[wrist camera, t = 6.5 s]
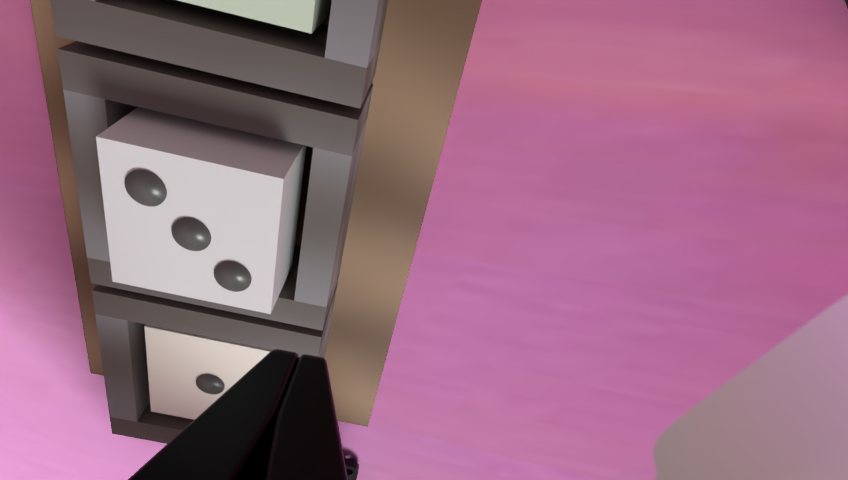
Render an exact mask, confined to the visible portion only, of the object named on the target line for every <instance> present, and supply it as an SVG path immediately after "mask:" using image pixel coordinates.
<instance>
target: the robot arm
mask: <svg viewBox="0 0 848 480" xmlns="http://www.w3.org/2000/svg"><path fill="white" fill-rule="evenodd" d="M358 469H359V464H358V463H357V462H356V461H354V460H351V459H346V458H344V455H343V450H342V444H341V439H340V433H339V427H338V422H337V416H336V411H335V405H334V399H333V394H332V388H331V383H330V377H329V371H328V366H327V361H326V359H325V358H323V357H318V356H313V355H307V354H302V355H301V356H300V357H299V355H298V354H297V353H296V352H291V351H286V350H280V349H274V350H272V351H271V352H269V353H268V354H267V355H266V356H265V357H264V358H263V359H262V360H260V361H259V362H258V363H257V364H256V365H255V366H254V367H253V368H252V369H250V370H249V371H248V372H247V373H246V374H245V375H244V376H243V377H242V378H240V379H239V380H238V381H237V382H236V383H235V384H234V385H233V386H232V387H230V388H229V389H228V390H227V391H226V392H225V393H224V394H223V395H222V396H220V397H219V398H218V399H217V400H216V401H215V402H214V403H213V404H212V405H210V406H209V407H208V408H207V409H206V410H205V411H204V412H203V413H201V414H200V415H199V416H198V417H197V418H196V419H195V420H194V421H193V422H191V423H190V424H189V425H188V426H187V427H186V428H185V429H184V430H183V431H181V432H180V433H179V434H178V435H177V436H176V437H175V438H174V439H173V440H171V441H170V442H169V443H168V444H167V445H166V446H165V447H164V448H163V449H161V450H160V451H159V452H158V453H157V454H156V455H155V456H154V457H153V458H151V459H150V460H149V461H148V462H147V463H146V464H145V465H144V466H143V467H141V468H140V469H139V470H138V471H137V472H136V473H135V474H134V475H133V476H131V477H130V478H129V479H128V480H356V478H357V474H358Z"/></svg>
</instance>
